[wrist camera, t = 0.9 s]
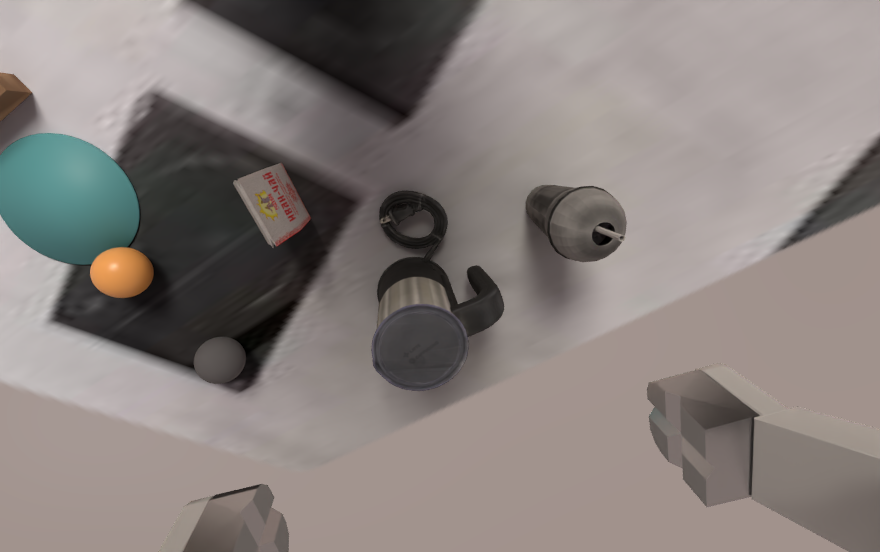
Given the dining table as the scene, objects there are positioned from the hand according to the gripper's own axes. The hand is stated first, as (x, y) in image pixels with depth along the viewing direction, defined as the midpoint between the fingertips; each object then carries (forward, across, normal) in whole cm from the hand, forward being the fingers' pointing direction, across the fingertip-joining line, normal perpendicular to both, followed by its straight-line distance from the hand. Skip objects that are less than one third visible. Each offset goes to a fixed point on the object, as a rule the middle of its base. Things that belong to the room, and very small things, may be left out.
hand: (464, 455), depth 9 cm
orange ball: (+40, +32, +1) cm, 51 cm away
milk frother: (+43, +2, +8) cm, 44 cm away
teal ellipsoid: (+42, +36, -8) cm, 56 cm away
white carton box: (+43, +14, -3) cm, 45 cm away
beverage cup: (+43, -16, +6) cm, 46 cm away
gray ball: (+40, +26, +14) cm, 50 cm away
